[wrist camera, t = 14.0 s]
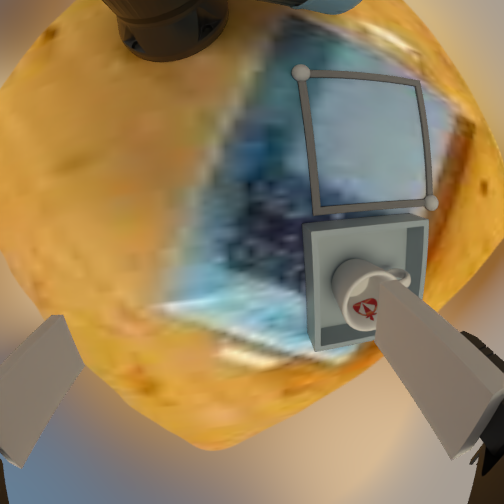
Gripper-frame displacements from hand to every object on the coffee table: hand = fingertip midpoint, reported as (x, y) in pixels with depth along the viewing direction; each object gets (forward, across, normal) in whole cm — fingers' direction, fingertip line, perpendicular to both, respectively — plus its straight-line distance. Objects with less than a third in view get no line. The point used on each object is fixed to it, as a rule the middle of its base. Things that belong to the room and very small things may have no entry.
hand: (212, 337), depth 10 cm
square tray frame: (+27, +20, +9) cm, 35 cm away
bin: (+27, +17, -10) cm, 33 cm away
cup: (+26, +17, -10) cm, 33 cm away
